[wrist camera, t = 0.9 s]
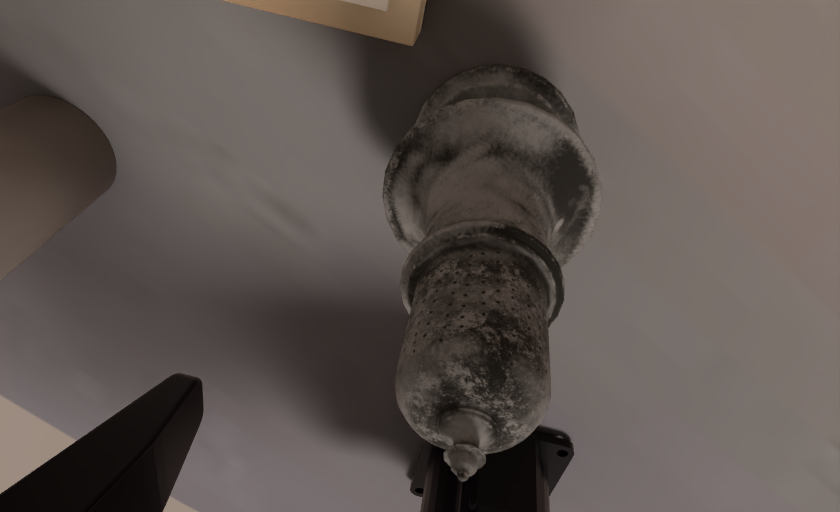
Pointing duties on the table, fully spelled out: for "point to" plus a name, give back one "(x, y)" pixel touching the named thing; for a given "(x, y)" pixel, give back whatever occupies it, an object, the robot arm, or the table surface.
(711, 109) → the table surface
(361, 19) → the maple picture frame
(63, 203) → the pepper shaker
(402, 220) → the salt shaker
